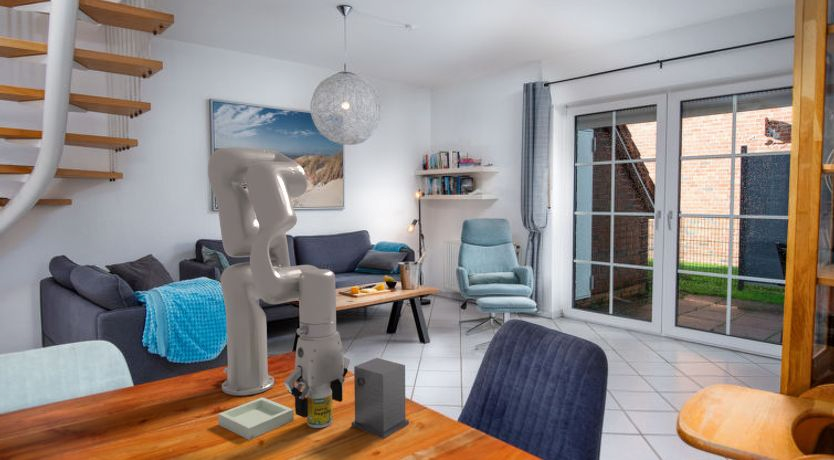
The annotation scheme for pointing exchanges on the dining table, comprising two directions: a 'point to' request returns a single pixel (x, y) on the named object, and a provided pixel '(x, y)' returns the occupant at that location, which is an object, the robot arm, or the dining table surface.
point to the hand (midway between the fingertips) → (319, 407)
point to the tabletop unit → (379, 397)
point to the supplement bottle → (319, 406)
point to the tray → (255, 418)
